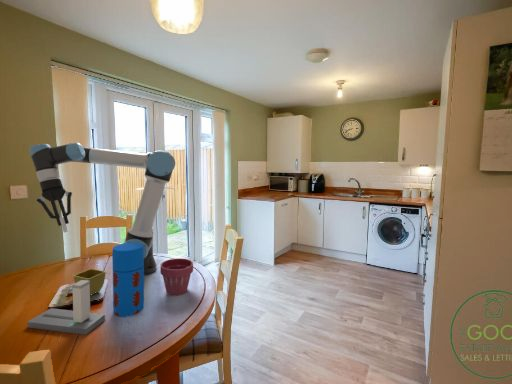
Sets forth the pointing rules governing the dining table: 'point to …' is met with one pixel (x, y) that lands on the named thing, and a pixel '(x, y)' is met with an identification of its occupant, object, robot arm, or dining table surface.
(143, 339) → the dining table surface
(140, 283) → the thermos
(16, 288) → the dining table surface
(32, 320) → the console
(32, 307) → the dining table surface
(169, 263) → the plant pot
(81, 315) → the fader tab
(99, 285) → the flower pot
